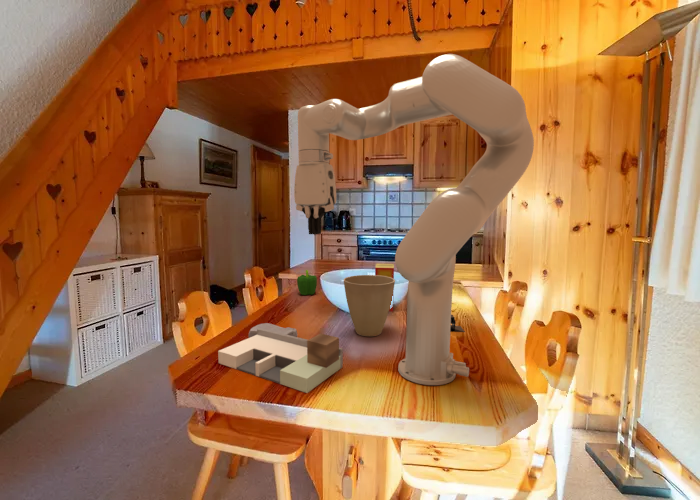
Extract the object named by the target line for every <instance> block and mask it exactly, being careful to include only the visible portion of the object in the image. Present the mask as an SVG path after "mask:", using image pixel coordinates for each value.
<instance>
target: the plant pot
mask: <svg viewBox="0 0 700 500" xmlns="http://www.w3.org/2000/svg"><path fill="white" fill-rule="evenodd" d="M395 283H396V280H395V278H394V279H393V278H391V277H386V276H379V275H375V274H373V275H372V274H361V275H360V274H358V275H357V274H356V275H349V276H347V277H345V278H343V285H344V293H345V298H346V299H345V300H346V304H347V308H348V311H349V315H350V319H351V321H352V324H353V327H354V330H355V332H356V334H358V335H359V336H362V337H376V336H380V335H381V333H382V332H383V330H384V326H385V324H386V321H387V319H388V315H389V312H390V311H389V309H390V305H391V301H392V296H393V297H394V291H395Z"/></svg>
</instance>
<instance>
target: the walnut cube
mask: <svg viewBox="0 0 700 500" xmlns="http://www.w3.org/2000/svg"><path fill="white" fill-rule="evenodd" d="M339 347H340V337H338V336H334V335H333V336H332V335H330V334H329V335H328V334H324V333H321V332H320V333H319V334H317V335H315V336H313V337H311V338H310V339H309V338H308V339H307V363H311V364H314V365H318V366H321V367H325V368H327V367H328V366H330V365H331V364H333V363H334V362H336V361H337V360H339Z"/></svg>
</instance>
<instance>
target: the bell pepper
mask: <svg viewBox="0 0 700 500" xmlns="http://www.w3.org/2000/svg"><path fill="white" fill-rule="evenodd" d="M296 282H297V283H296V285H297V289H298V292H299V294H300V295H302V296H308V295H309V296H310V295H314V294H315V293H316V290H317V285H318V283H317V282H318V278H317V276H316V275H314V274H313V275H312V274H309V270H308V269H305V274H301V275H299V276H297V278H296Z"/></svg>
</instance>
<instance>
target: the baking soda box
mask: <svg viewBox="0 0 700 500" xmlns="http://www.w3.org/2000/svg"><path fill="white" fill-rule="evenodd" d="M374 268H375V269H374V273H375V274H374V275H379V276H386V277H391V278H393V279H395V278H394V277H395V263H375V267H374ZM389 312H392V313H394V306H393V307H392V308H391V309H389Z"/></svg>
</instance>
